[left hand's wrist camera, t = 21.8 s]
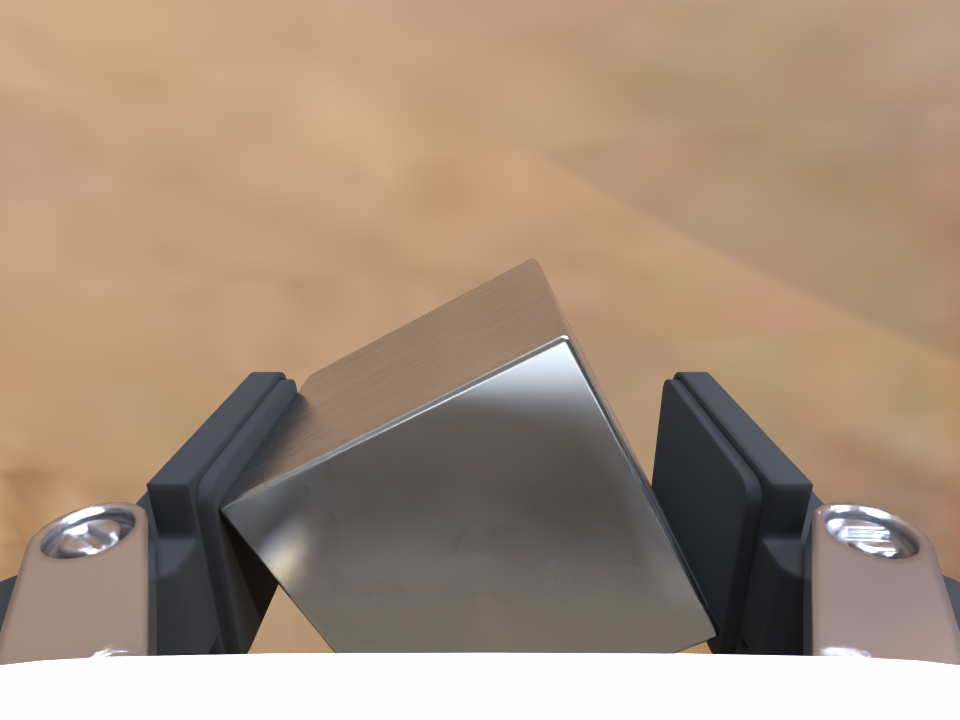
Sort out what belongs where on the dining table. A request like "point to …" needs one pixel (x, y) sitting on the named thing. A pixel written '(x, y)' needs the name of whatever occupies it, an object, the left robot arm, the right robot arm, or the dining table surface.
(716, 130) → the dining table surface
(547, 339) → the block
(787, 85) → the dining table surface
